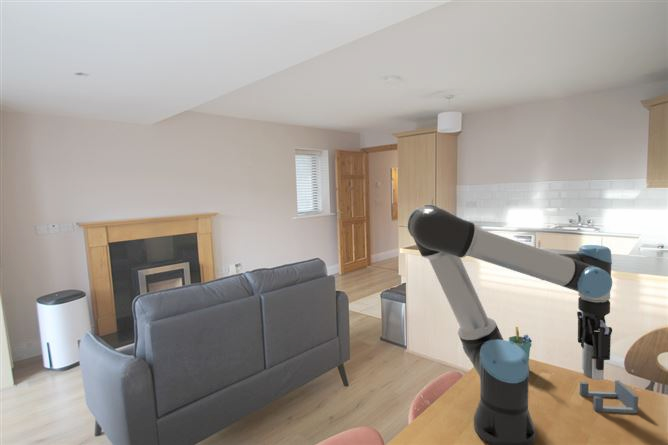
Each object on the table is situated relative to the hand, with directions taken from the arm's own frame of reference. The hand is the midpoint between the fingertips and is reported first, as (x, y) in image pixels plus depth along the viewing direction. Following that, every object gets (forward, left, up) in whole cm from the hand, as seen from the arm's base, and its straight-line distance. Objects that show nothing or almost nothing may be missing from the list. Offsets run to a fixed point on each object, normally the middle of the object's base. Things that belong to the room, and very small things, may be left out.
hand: (592, 373), depth 106 cm
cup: (-14, +18, -9) cm, 24 cm away
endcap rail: (+4, 0, -9) cm, 10 cm away
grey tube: (0, 0, -1) cm, 1 cm away
